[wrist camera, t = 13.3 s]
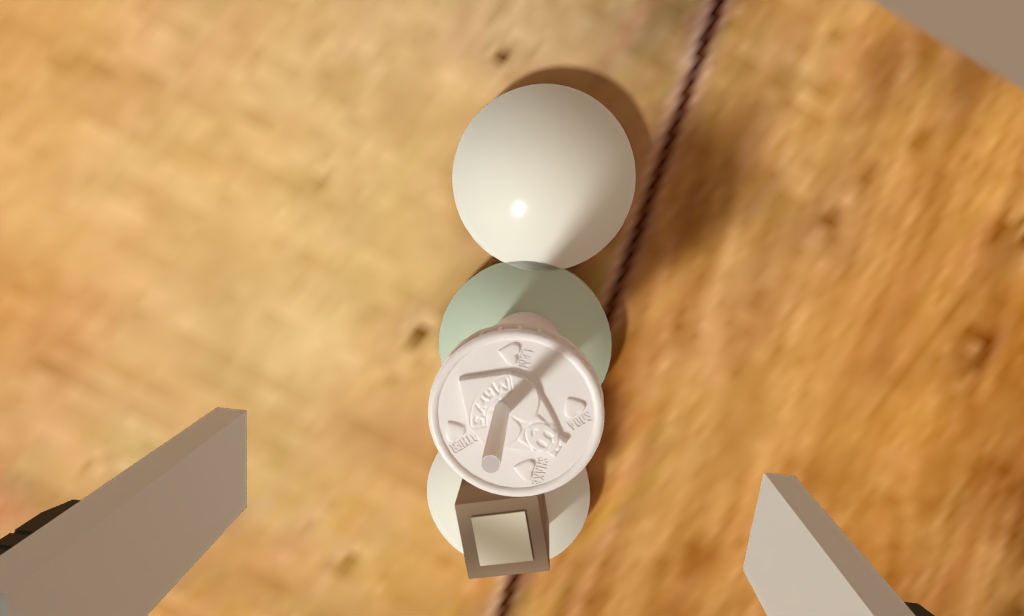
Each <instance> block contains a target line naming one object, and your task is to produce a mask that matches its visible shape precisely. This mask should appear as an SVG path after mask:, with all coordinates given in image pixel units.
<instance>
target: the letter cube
mask: <svg viewBox="0 0 1024 616" xmlns="http://www.w3.org/2000/svg"><path fill="white" fill-rule="evenodd" d="M454 506H455V511H456V516H457V521H458V526H459V531H460V536H461V541H462V547H463V552H464V557H465V562H466V567H467V572H468V577H469V579H473V578H483V577H492V576H502V575H512V574H521V573H531V572H540V571H550V557H549V519H548V513H547V507H546V501H545V495H544V493H542V494H538V495H533V496H524V497H512V496H503V495H498V494H494V493H491V492H487V491H485V490H482V489H480V488H478V487H476V486H474V485H472V484H470V483H469V482H467V481H466V480H464V479H463V478H462V481H461V485H460V488H459V491H458V495H457V498H456V501H455V505H454Z"/></svg>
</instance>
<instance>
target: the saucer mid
mask: <svg viewBox="0 0 1024 616" xmlns="http://www.w3.org/2000/svg"><path fill="white" fill-rule="evenodd" d="M518 262H519V261H518ZM518 262H517V263H518ZM527 262H528V261H527ZM527 262H526V261H524V263H526V264H527ZM532 262H534V261H532ZM532 262H531V263H532ZM514 263H515V264H516V261H515V262H514ZM528 263H529V262H528ZM540 263H541V262H540ZM511 264H513V263H511ZM511 264H508V263H504V262H502V261H501V262H499V263H496V264H493V265H491V266H489V267H487V268H485V269H483V270H481V271H480V272H478V273H477V274H475V275H474V276H473V277H471V278H470V279H469V280H468V281H467V282H466V283H465V284H464V285H463V286H462V287H461V288H460V290H459V291H458V292H457V293H456V294H455V296H454V297H453V299H452V300H451V302H450V304H449V305H448V307H447V310H446V312H445V314H444V317H443V320H442V324H441V328H440V335H439V351H440V359H441V363H443V361H444V359H445V358H446V357H447V356H448V355H449V353H450V352H451V351H452V350H453V349H454V348H455V347H456V346H457V345H458V344H459V343H460V342H461V341H463V340H464V339H466V338H468V337H469V336H471V335H472V334H474V333H476V332H477V331H479V330H482V329H485V328H488V327H492V326H495V325H496V324H497V323H499V322H500V321H501V320H502V319H504V318H505V317H507V316H509V315H511V314H514V313H517V312H533V313H537V314H539V315H541V316H543V317H545V318H546V319H548V320H549V321H550V322H551V323H552V324H553V325H554V327H555V328H556V330H557V331H558V332H559V334H560V335H562V336H563V337H565V338H567V339H569V340H570V341H571V342H572V343H573V344H574V345H575V346H576V347H577V348H579V349H580V350H581V351H582V352H583V353H584V354H585V355H586V357H587V358H588V360H589V362H590V363H591V365H592V366H593V368H594V369H595V371H596V373H597V375H598V378H599V381H600V385H601V384H602V382H603V380H604V379H605V376H606V373H607V371H608V368H609V363H610V359H611V349H612V342H611V332H610V327H609V323H608V320H607V317H606V314H605V312H604V310H603V308H602V306H601V304H600V302H599V300H598V298H597V297H596V295H595V294H594V293H593V291H592V290H591V289H590V287H589V286H588V285H587V284H586V283H585V282H584V281H583V280H582V279H580V278H579V277H578V276H577V275H576V274H574V273H572V272H571V271H569V270H568V269H566V268H565V269H561V268H558V267H556V268H557V269H558V270H557V269H555V268H554V269H552V268H551V267H552V266H548V265H549V264H548V265H547V264H546V263H542V264H541V265H543V264H544V266H545V265H546V267H548V269H549V268H550V269H552V270H550V271H549V270H547V268H546V269H545V267H544V266H543V268H542V269H540V268H538V269H537V268H535V267H534V266H537V267H541V266H540V264H539V263H538V264H539V265H538V264H536V263H535V264H536V265H535V264H534V263H533V264H534V265H531V266H533V267H531V266H530V267H526V268H527V269H533V270H534V271H532V270H527V269H525V268H524V266H523V267H522V268H524V269H520V268H518V266H519V265H521V264H523V263H520V264H518V265H517V267H515V266H512V265H511ZM526 264H525V266H527V265H529V264H530V263H529V264H527V265H526ZM521 266H522V265H521ZM539 269H540V271H539Z"/></svg>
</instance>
